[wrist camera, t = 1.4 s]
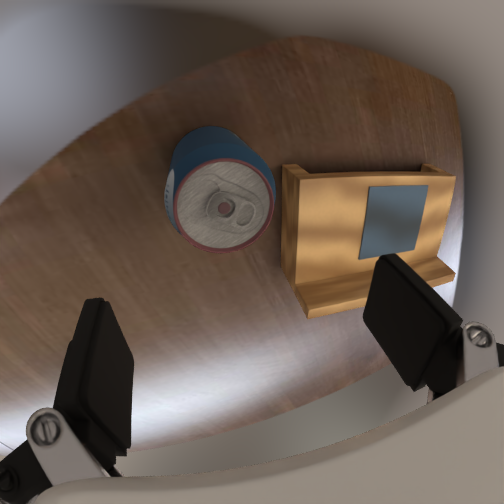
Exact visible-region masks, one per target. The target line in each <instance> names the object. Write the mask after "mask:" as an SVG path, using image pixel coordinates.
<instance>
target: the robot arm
mask: <svg viewBox="0 0 504 504" xmlns="http://www.w3.org/2000/svg"><path fill="white" fill-rule="evenodd" d="M363 320H364V322H365V324H366V326H367V327H368V329H369V330H370V331H371V333H372V334H373V336H374V337H375V339H376V340H377V342H378V343H379V345H380V346H381V348H382V349H383V350H384V352H385V353H386V355H387V356H388V358H389V359H390V361H391V362H392V364H393V365H394V367H395V368H396V370H397V372H398V373H399V375H400V376H401V378H402V379H403V381H404V382H405V384H406V385H408V386H410V387H411V388H412V390H413V391H414V392H415V391H417V390H419V389H421V388H423V387H425V385H426V384H427V386H428V387H429V392H428V400H427V404H426V405H424V406H422V407H421V408H418V409H416V410H415V411H413V412H410V413H408V414H406V415H404V416H402V417H400V418H398V419H396V420H393V421H391V422H389V423H387V424H384V425H382V426H380V427H377V428H375V429H372V430H370V431H368V432H365V433H362V434H360V435H357V436H355V437H352V438H349V439H347V440H344V441H341V442H338V443H335V444H332V445H329V446H326V447H323V448H319V449H316V450H313V451H310V452H306V453H302V454H299V455H295V456H291V457H287V458H283V459H279V460H275V461H270V462H266V463H261V464H256V465H251V466H246V467H240V468H234V469H227V470H220V471H213V472H204V473H194V474H183V475H171V476H149V477H148V476H146V477H125V476H124V475H123V474H122V473H121V472H120V471H119V469H118V468H117V467H116V466H115V464H116V456H127V448H130V447H131V412H132V388H133V372H134V359H133V355H132V353H131V351H130V349H129V347H128V344H127V342H126V340H125V338H124V336H123V333H122V331H121V329H120V327H119V324H118V322H117V320H116V317H115V315H114V312H113V310H112V307H111V305H110V303H109V302H108V301H106V302H105V301H104V299H103V298H93V299H87V300H85V302H84V305H83V308H82V311H81V314H80V317H79V320H78V323H77V327H76V330H75V333H74V336H73V340H71V341H70V343H69V345H68V348H67V352H66V355H65V359H64V363H63V366H62V370H61V374H60V378H59V382H58V387H57V391H56V396H55V400H54V405H53V408H41V409H39V410H37V411H36V412H35V413H33V414H32V415H31V417H30V418H29V420H28V422H27V426H26V436H27V440H26V441H25V442H23V443H22V444H21V445H20V446H19V447H17V448H16V449H15V450H14V451H13V452H11V453H10V454H9V455H8V456H6V457H5V458H4V459H3V460H2V461H1V462H0V504H504V345H503V344H499V343H496V341H495V337H494V334H493V333H492V331H491V330H490V329H489V328H488V327H487V326H485V325H484V324H482V323H479V322H469V323H467V324H465V326H464V328H463V329H462V328H461V327H460V325H461V323H462V321H463V320H462V318H461V317H460V316H459V315H458V314H457V313H456V312H455V311H454V310H453V309H452V308H451V307H450V306H449V305H448V304H447V303H446V302H445V301H444V299H443V298H442V297H441V296H440V295H439V294H438V293H437V292H436V291H435V290H434V289H433V288H432V287H431V286H430V285H429V284H428V283H427V282H426V281H425V280H424V279H422V278H421V277H420V276H419V275H418V274H417V273H416V272H415V271H414V270H413V269H412V268H411V267H410V266H409V265H408V264H407V263H406V262H405V261H404V260H402V259H401V258H400V257H399V256H398V255H397V254H395V253H391V254H385V255H381V256H380V257H379V259H378V260H377V261H376V263H375V267H374V272H373V276H372V281H371V285H370V289H369V293H368V297H367V301H366V305H365V309H364V313H363Z"/></svg>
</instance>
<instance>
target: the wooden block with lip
mask: <svg viewBox="0 0 504 504" xmlns="http://www.w3.org/2000/svg"><path fill="white" fill-rule="evenodd" d="M455 180H456V176H454V175H452V174H450V173H447V172H446V171H444V170H441V169H439V168H437V167H435V166H433V165H431V164H423V163H422V166H421V172H338V173H316V174H309V173H308V172H306V171H305V170H304V169H302V168H301V167H300V166H298V165H297V164H288V165H282V231H281V268H282V270H283V272H284V274H285V276H286V278H287V280H288V282H289V284H290V285H291V287H292V289H293V291H294V293H295V295H296V297H297V299H298V301H299V303H300V305H301V307H302V309H303V311H304V313H305V315H306V317H307V319H311V318H315V317H320V316H325V315H329V314H334V313H338V312H342V311H347V310H351V309H355V308H359V307H363V306H365V305H366V301H367V297H368V293H369V289H370V285H371V281H372V276H373V272H374V267H375V263H376V261H377V260H378V259H379V257H380V256H381V255H385V254H391V253H395V254H397V255H398V256H399V257H400V258H401V259H402V260H404V261H405V262H406V263H407V264H408V265H409V266H410V267H411V268H412V269H413V270H414V271H415V272H416V273H417V274H418V275H419V276H420V277H421V278H422V279H424V280H425V281H426V282H427V283H428V284H429V285H430V286H431V287H435V286H439V285H442V284H445V283H448V282H451V281H453V279H454V277H455V274H456V273H455V272H454V271H453V270H452V269H450V268H449V267H448V266H447V265H446V264H445V263H444V262H443V261H442V260H440V259H439V258H438V257H437V253H438V250H439V247H440V243H441V240H442V236H443V233H444V229H445V225H446V221H447V217H448V213H449V209H450V204H451V200H452V195H453V190H454V185H455Z"/></svg>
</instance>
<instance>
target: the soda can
mask: <svg viewBox="0 0 504 504" xmlns="http://www.w3.org/2000/svg"><path fill="white" fill-rule="evenodd" d="M164 197H165V208H166V212H167V215H168V217H169V219H170V221H171V223H172V225H173V226H174V227H175V229H176V230H177V231H178V232H179V233H180V234H181V235H182V236H183V237H184V238H185V239H186V240H187V241H188V242H189V243H190V244H192V245H193V246H195V247H197V248H199V249H201V250H204V251H207V252H212V253H230V252H234V251H238V250H241V249H243V248H245V247H247V246H249V245H251V244H252V243H253V242H255V241H256V240H257V239H258V238H259V237H260V236H261V235H262V234H263V233H264V232H265V230H266V229H267V227H268V225H269V223H270V221H271V219H272V215H273V211H274V205H275V199H276V187H275V181H274V178H273V175H272V173H271V170H270V169H269V167H268V165H267V164H266V163H265V162H264V160H263V159H262V158H261V157H260V156H259V155H258V154H256V153H255V152H254V151H253V150H252V149H251V148H250V147H249V146H248V145H247V144H246V143H245V142H243V141H242V140H241V139H240V138H239V137H238V136H237V135H236V134H234V133H233V132H231V131H229V130H227V129H225V128H221V127H216V126H207V127H201V128H198V129H195V130H193V131H191V132H190V133H188V134H187V135H186V136H184V137H183V138H182V139H181V140H180V142H179V143H178V144H177V146H176V148H175V150H174V152H173V155H172V160H171V164H170V169H169V173H168V178H167V183H166V188H165V196H164Z"/></svg>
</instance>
